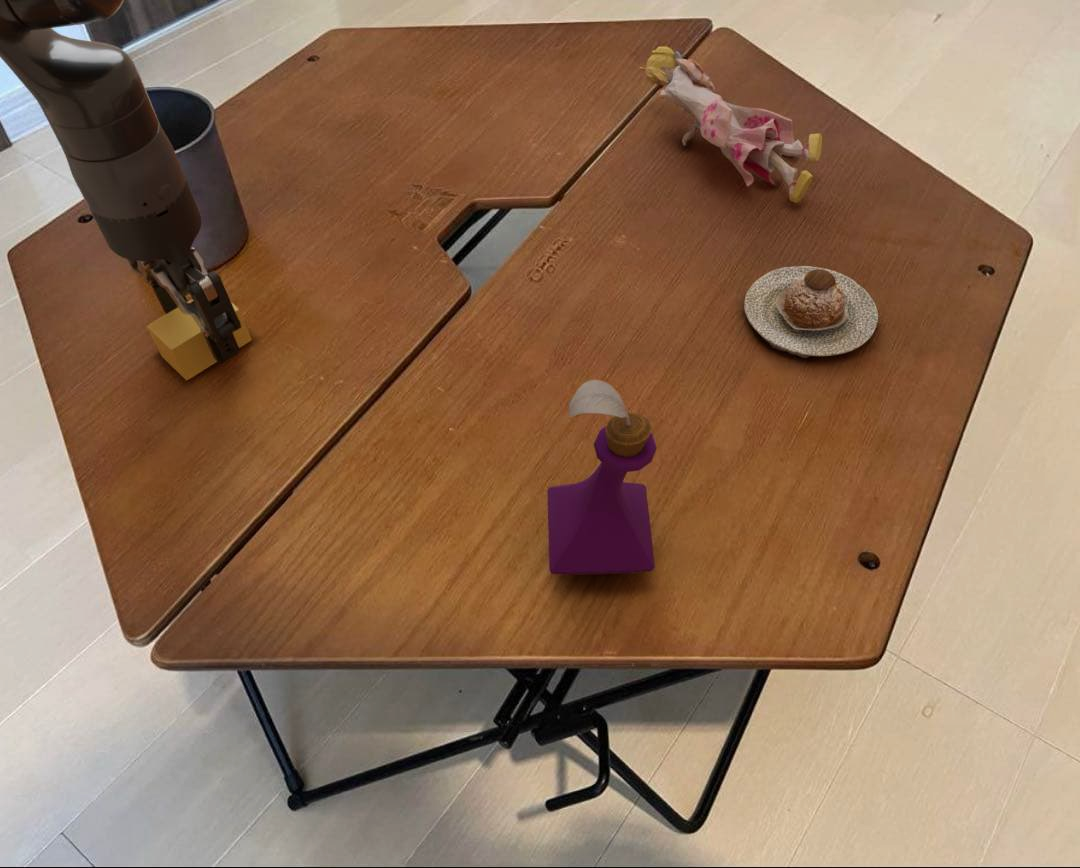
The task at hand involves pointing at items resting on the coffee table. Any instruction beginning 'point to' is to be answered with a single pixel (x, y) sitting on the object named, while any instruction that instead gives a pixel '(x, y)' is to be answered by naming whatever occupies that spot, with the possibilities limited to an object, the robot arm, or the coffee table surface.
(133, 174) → the robot arm
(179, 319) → the block
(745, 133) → the figurine
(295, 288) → the coffee table surface
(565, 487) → the perfume bottle
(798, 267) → the pastry
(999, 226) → the coffee table surface
